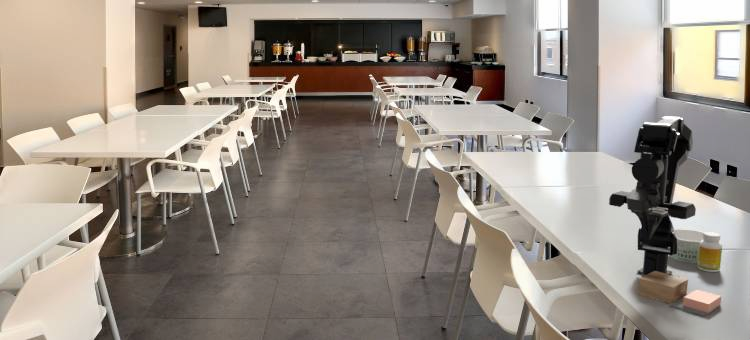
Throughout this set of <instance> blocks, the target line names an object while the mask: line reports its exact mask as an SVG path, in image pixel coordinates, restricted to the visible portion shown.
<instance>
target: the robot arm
mask: <svg viewBox="0 0 750 340" xmlns="http://www.w3.org/2000/svg"><path fill="white" fill-rule="evenodd" d="M684 121H685V120H684V118H683V117H680V116H670V115H669V116H666V115H665V116H662V117H661V119H660V120H659V121H657V122H643V124H642V126H640V127H639V129H638V132H637V133H638V134H637V137H636V142H635V146H634V151H633V153H637V154H640V158H639V159H637V160H636V161H635V162H634V163H633V164H632V167H631V174H632V176H633V179H635V180H636V181H637V182H636V186H635V188H633V189H632V190H631V191H630V192H629V191H623V190H620V191H618V192H613V193H612V194H611V195H610V196H609V198H608V199H609V201H608V205H609V206H613V207H618V208H621V207H622V206H623V205H625V204H626V206H627V210H629V211H630V212H631V213H632V214H635V215H636V217H638V220H639V221H640V225H641V226H640V227H639V228H638V231H637V251H644V253H643V264H642V266H643V267H642V268H640V269H637V270H636V271H637V274H640V275H643V276H645V275H647V274H649V273H651V272H653V271H658V272H662V273H665V274H669V275H672V274H673V271H672V270H669V269H668V261H669V256H670V255H671V256H672V255H673V254H677V238H676V235H675V232H674V229H675V228H674V225H673V222H672V219H671V218H673V219H680V220H687V219H689V218H692V217H695V216H696V210H697V209H696V205H695V204H694V203H690V202H686V201H680V200H678V201H675V202H673V201H674V196H675V191H676V184H677V180H678V172H679V169H680V167H681V166H682V165H683V164H684V163H685V162H686V161H687V160H688V157H689V153H690V152H692V150H693V142H694V141H693V131H692V129H690V128H689V127H688V126H687V125H686V124H685V122H684ZM670 217H671V218H670ZM669 247H670V248H669Z"/></svg>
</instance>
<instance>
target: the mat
mask: <svg viewBox="0 0 750 340" xmlns="http://www.w3.org/2000/svg"><path fill="white" fill-rule="evenodd" d="M684 297H685V296H684ZM684 297H682V298H680V299H679V300H677V301H675V302H674V303H672V304H669V307H672V308H675V309H678V310H682V311H684V312H689V313H692V314H695V315H698V316H702V317H705V316H707V315H708V314H710V313H711V312H713V311H714V310H716V309H717V308H719V307H721V304H720V305H719V306H717V307H716V308H714V309H713V310H711V311H710V312H708V313H707V312H704V311H700V310H697V309H693V308H690V307H687V306H683V298H684Z"/></svg>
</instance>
